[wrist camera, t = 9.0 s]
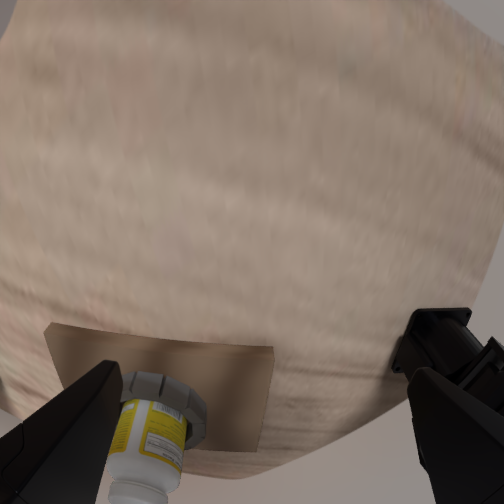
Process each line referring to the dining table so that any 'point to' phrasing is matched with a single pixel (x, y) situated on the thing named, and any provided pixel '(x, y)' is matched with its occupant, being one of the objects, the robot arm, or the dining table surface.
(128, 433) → the supplement bottle
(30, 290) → the dining table surface
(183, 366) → the socket board
